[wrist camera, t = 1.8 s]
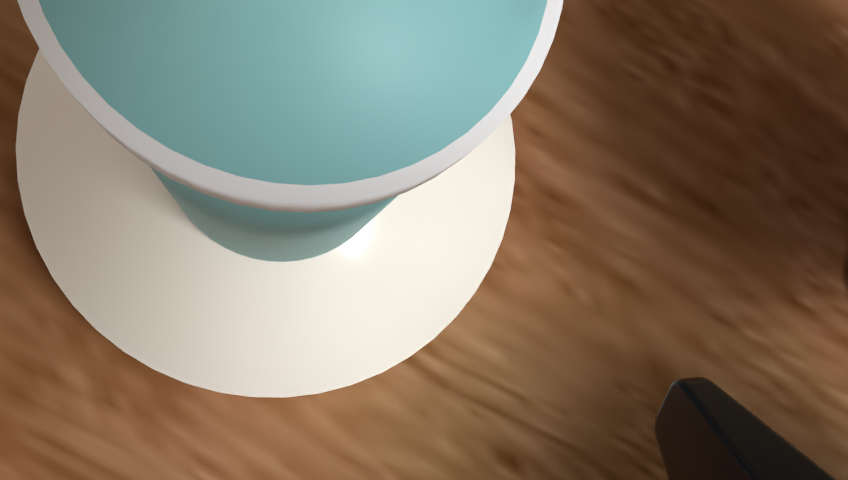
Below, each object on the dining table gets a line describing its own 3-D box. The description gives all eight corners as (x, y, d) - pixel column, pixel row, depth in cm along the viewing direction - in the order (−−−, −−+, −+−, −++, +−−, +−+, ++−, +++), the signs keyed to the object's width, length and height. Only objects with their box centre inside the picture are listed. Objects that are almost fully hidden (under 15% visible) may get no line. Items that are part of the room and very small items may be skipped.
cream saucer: (539, 347, 23) (552, 348, 22) (62, 437, 20) (52, 444, 19) (464, -81, 23) (473, -98, 22) (-3, -53, 21) (-16, -71, 20)
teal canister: (417, 249, 21) (609, 164, 9) (174, 287, 20) (43, 242, 8) (379, 22, 22) (518, -331, 10) (138, 43, 20) (-35, -337, 8)
